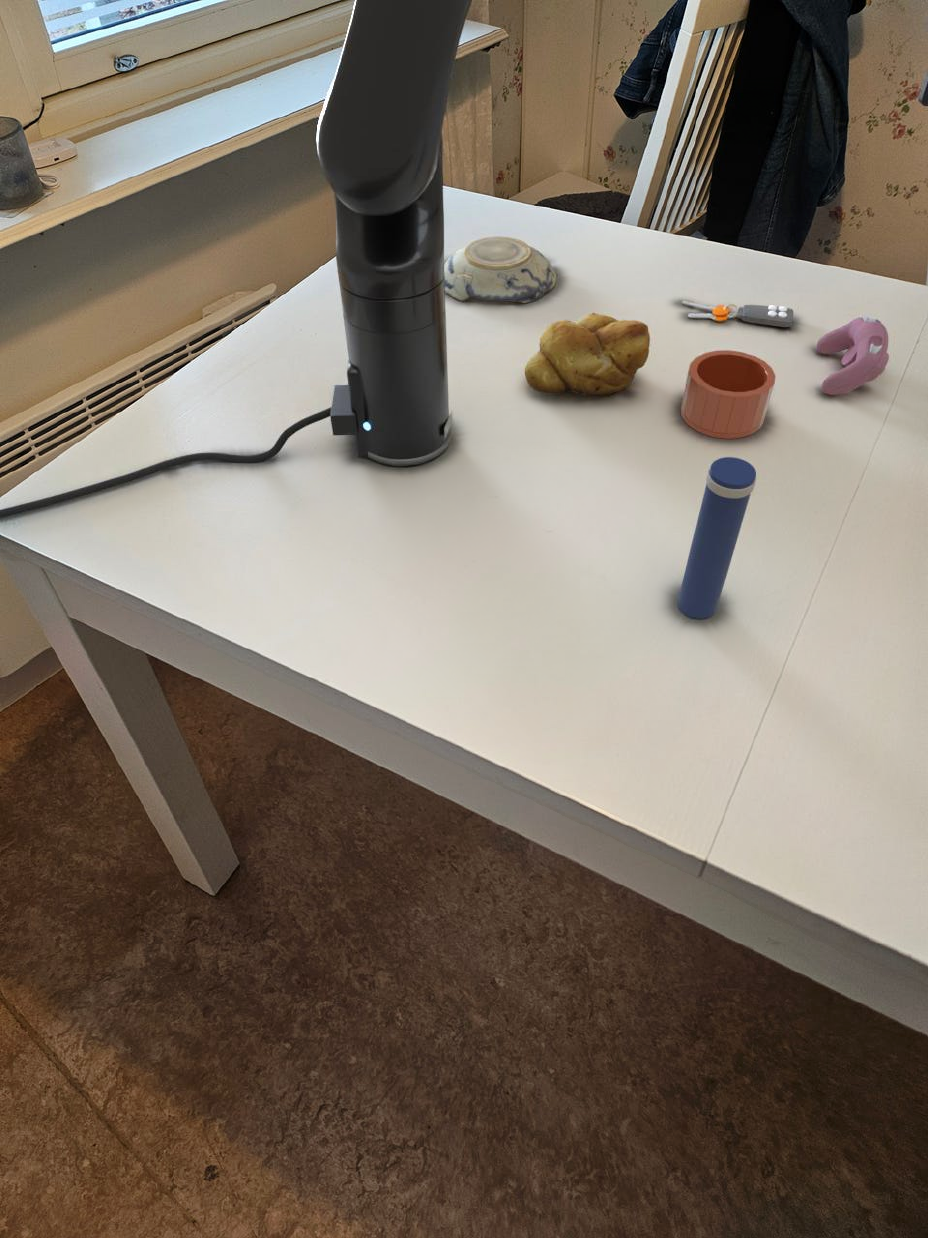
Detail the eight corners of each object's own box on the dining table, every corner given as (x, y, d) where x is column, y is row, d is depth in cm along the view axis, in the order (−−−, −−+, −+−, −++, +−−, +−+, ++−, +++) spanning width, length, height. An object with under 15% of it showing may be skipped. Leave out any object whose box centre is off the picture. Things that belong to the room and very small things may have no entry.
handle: (680, 620, 71) (714, 486, 61) (672, 590, 73) (704, 456, 63) (721, 619, 71) (763, 485, 61) (713, 590, 73) (751, 455, 63)
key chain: (791, 315, 104) (794, 303, 103) (791, 330, 102) (794, 319, 100) (681, 303, 106) (683, 291, 105) (679, 318, 104) (681, 306, 103)
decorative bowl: (414, 278, 112) (495, 319, 104) (413, 249, 109) (496, 289, 101) (498, 243, 119) (580, 279, 111) (499, 215, 116) (582, 250, 108)
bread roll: (529, 410, 91) (533, 341, 85) (515, 361, 98) (517, 293, 92) (649, 400, 92) (660, 331, 86) (626, 352, 99) (636, 285, 93)
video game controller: (851, 412, 93) (903, 363, 88) (817, 392, 92) (867, 341, 87) (843, 363, 99) (891, 315, 94) (811, 344, 99) (858, 294, 93)
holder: (689, 439, 88) (698, 397, 84) (674, 393, 93) (682, 351, 90) (772, 437, 88) (785, 395, 84) (752, 391, 93) (763, 349, 90)
